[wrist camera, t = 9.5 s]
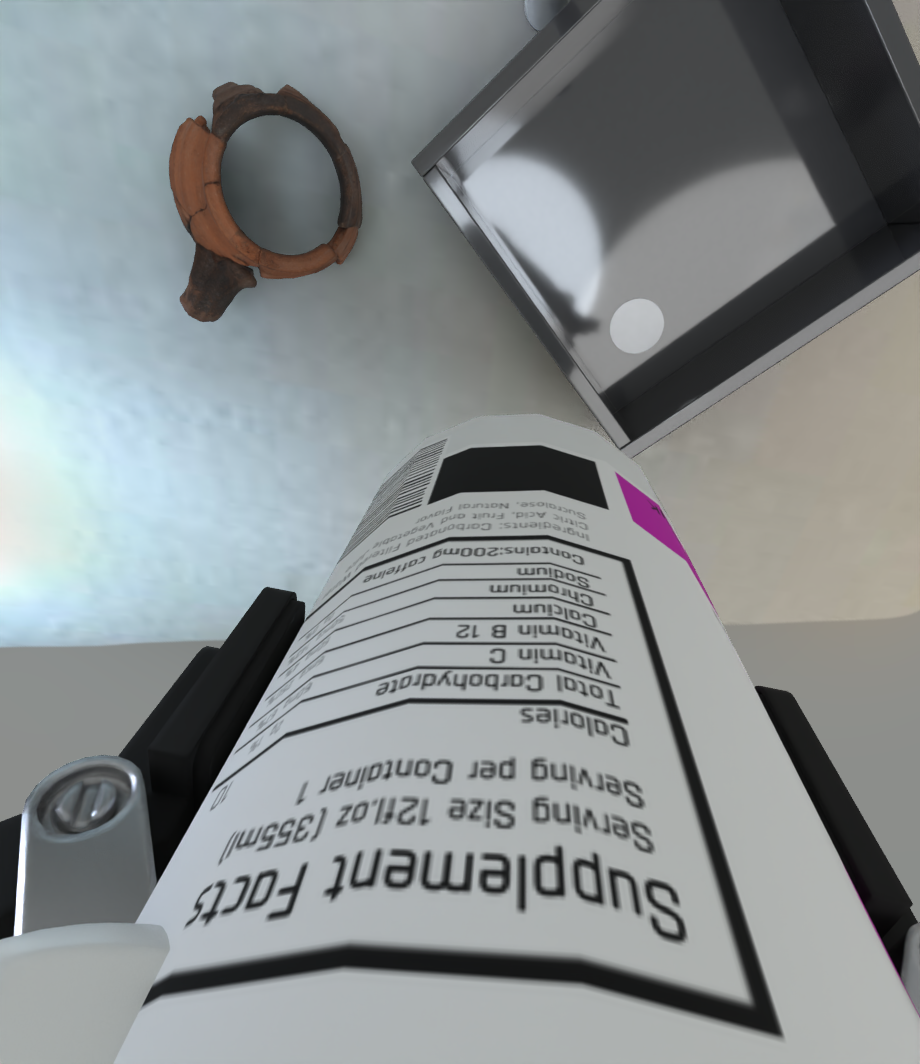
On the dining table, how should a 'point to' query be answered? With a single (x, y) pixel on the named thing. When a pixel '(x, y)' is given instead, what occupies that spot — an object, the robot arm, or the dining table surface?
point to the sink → (688, 189)
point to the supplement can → (514, 807)
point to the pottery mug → (208, 215)
